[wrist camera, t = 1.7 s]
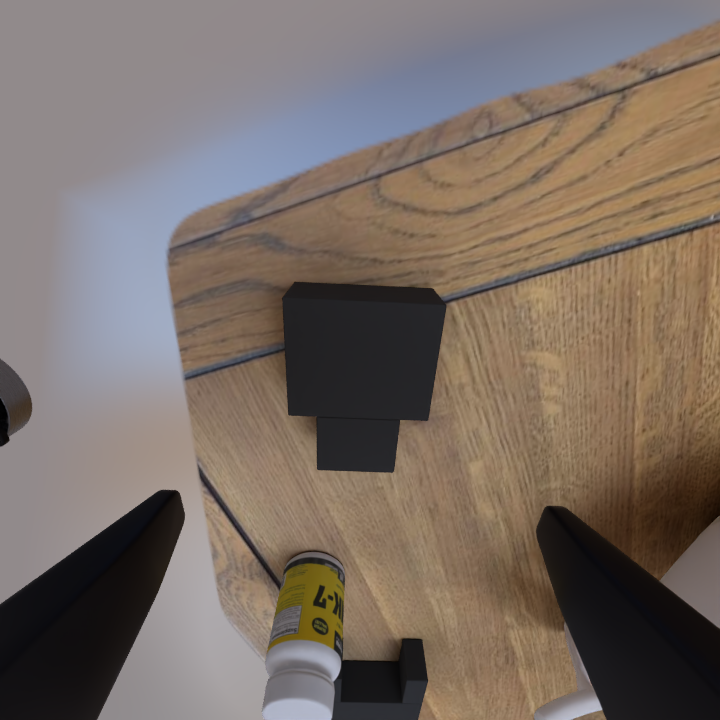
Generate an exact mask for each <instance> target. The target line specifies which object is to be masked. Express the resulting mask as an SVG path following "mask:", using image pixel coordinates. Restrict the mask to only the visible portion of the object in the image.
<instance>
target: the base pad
mask: <svg viewBox="0 0 720 720" xmlns="http://www.w3.org/2000/svg"><path fill="white" fill-rule="evenodd" d="M342 656H343V638H342ZM333 683H334V690H335V695H334V703H333V714H332V719H331V720H418V717H419V713H420V710H421V706H422V702H423V698H424V694H425V690H426V687H427V683H428V677H427V670H426V663H425V656H424V649H423V642H422V640H414V639H403V641H402V646H401V652H400V657H399V662H373V661H342V659H341V669H340V672H339V674H338V676H337V678H336V679H335V680H334V681H333Z"/></svg>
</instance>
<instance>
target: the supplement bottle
mask: <svg viewBox="0 0 720 720" xmlns="http://www.w3.org/2000/svg"><path fill="white" fill-rule="evenodd" d="M344 588H345V572H344V568H343V566H342V565H341V563H340V562H339V561H338V560H336V559H335V558H333V557H332V556H330V555H327V554H324V553H320V552H307V553H302V554H300V555H297V556H295V557H294V558H292V559H291V560H290V561H289V562H288V563H287V565H286V566H285V569H284V574H283V578H282V583H281V588H280V593H279V597H278V602H277V607H276V612H275V617H274V621H273V626H272V631H271V636H270V641H269V645H268V650H267V655H266V670H267V673H268V675H269V676H270V678H269V679H268V682H267V686H266V690H265V697H264V702H263V709H262V716H263V718H264V719H265V720H331V719H332V714H333V703H334V695H335V690H334V683H333V681H334V680H335V679H336V678H337V676H338V674H339V672H340V669H341V659H342V635H343V612H344Z"/></svg>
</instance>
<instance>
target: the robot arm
mask: <svg viewBox="0 0 720 720" xmlns="http://www.w3.org/2000/svg"><path fill="white" fill-rule="evenodd" d="M9 441H10V439H9V436H8V434H7V432H6V430H5V428H4V426H3V424H2V422H1V420H0V447H2V446H4V445H5V444H7V443H8V442H9ZM184 520H185V512H184V508H183V504H182V500H181V496H180V493H179V492H178V491H176V490H160V491H158V492H156V493H155V494H154V495H152V496H151V497H149V498H148V499H147V500H145V501H144V502H142V503H141V504H140V505H138V506H137V507H135V508H134V509H133V510H131V511H130V512H129V513H127V514H126V515H124V516H123V517H122V518H120V519H119V520H117V521H116V522H114V523H113V524H112V525H110V526H109V527H108V528H106V529H105V530H103V531H102V532H100V533H99V534H98V535H96V536H95V537H94V538H92V539H91V540H89V541H88V542H87V543H85V544H84V545H82V546H81V547H80V548H78V549H77V550H75V551H74V552H73V553H71V554H70V555H68V556H67V557H66V558H64V559H63V560H61V561H60V562H59V563H57V564H56V565H55V566H53V567H52V568H50V569H49V570H47V571H46V572H45V573H43V574H42V575H41V576H39V577H38V578H36V579H35V580H33V581H32V582H31V583H29V584H28V585H26V586H25V587H24V588H22V589H21V590H19V591H18V592H17V593H15V594H14V595H13V596H11V597H10V598H8V599H7V600H5V601H4V602H3V603H1V604H0V720H97V719H98V716H99V714H100V712H101V710H102V708H103V706H104V704H105V702H106V700H107V698H108V696H109V694H110V691H111V689H112V687H113V685H114V683H115V681H116V679H117V677H118V675H119V673H120V671H121V669H122V667H123V665H124V662H125V660H126V658H127V656H128V654H129V652H130V650H131V648H132V646H133V644H134V642H135V639H136V637H137V635H138V633H139V631H140V629H141V627H142V625H143V623H144V621H145V619H146V617H147V615H148V612H149V610H150V608H151V606H152V604H153V602H154V600H155V598H156V595H157V593H158V591H159V588H160V586H161V583H162V581H163V578H164V576H165V572H166V570H167V567H168V565H169V562H170V559H171V557H172V554H173V551H174V548H175V546H176V543H177V540H178V538H179V535H180V532H181V530H182V527H183V524H184ZM536 535H537V540H538V543H539V546H540V549H541V552H542V555H543V559H544V562H545V565H546V568H547V571H548V574H549V577H550V581H551V584H552V587H553V590H554V593H555V596H556V599H557V602H558V605H559V607H560V610H561V612H562V615H563V617H564V620H565V622H566V624H567V627H568V629H569V632H570V634H571V636H572V639H573V641H574V643H575V646H576V648H577V651H578V653H579V655H580V658H581V660H582V662H583V665H584V667H585V669H586V672H587V674H588V677H589V679H590V681H591V684H592V686H593V688H594V691H595V693H596V696H597V698H598V700H599V703H600V705H601V707H602V710H603V712H604V715H605V717H606V719H607V720H720V628H718V627H717V626H716V625H714V624H713V623H712V622H711V621H709V620H708V619H707V618H706V617H704V616H703V615H702V614H700V613H699V612H698V611H697V610H695V609H694V608H693V607H692V606H690V605H689V604H688V603H686V602H685V601H684V600H683V599H681V598H680V597H679V596H678V595H676V594H675V593H674V592H672V591H671V590H670V589H669V588H667V587H666V586H665V585H664V584H662V583H661V582H660V581H658V580H657V579H656V578H655V577H653V576H652V575H651V574H650V573H648V572H647V571H646V570H644V569H643V568H642V567H641V566H639V565H638V564H637V563H636V562H634V561H633V560H632V559H630V558H629V557H628V556H627V555H625V554H624V553H623V552H622V551H620V550H619V549H618V548H616V547H615V546H614V545H613V544H611V543H610V542H609V541H608V540H606V539H605V538H604V537H602V536H601V535H600V534H599V533H597V532H596V531H595V530H594V529H592V528H591V527H590V526H588V525H587V524H586V523H585V522H583V521H582V520H581V519H580V518H578V517H577V516H576V515H574V514H573V513H572V512H571V511H569V510H568V509H567V508H565V507H562V506H546V507H545V508H544V510H543V513H542V515H541V518H540V520H539V523H538V525H537V529H536Z"/></svg>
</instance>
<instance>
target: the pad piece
mask: <svg viewBox="0 0 720 720" xmlns="http://www.w3.org/2000/svg"><path fill="white" fill-rule="evenodd" d="M282 301H283V320H284V340H285V360H286V379H287V399H288V415H292V416H317V469H318V470H333V471H361V472H390V473H393V472H394V467H395V459H396V450H397V442H398V434H399V425H400V420H421V421H428V418H429V411H430V405H431V399H432V393H433V387H434V380H435V374H436V368H437V362H438V356H439V349H440V343H441V337H442V331H443V325H444V318H445V312H446V304H445V303H444V302H443V300H442V299H441V298H440V297H439V295H438V294H437V293H436V292H435V291H434V289H432V288H412V287H390V286H369V285H348V284H327V283H306V282H294V284H293V285H292V286H291V287H290V289H289V290H288V291H287V293H286V294H285V295H284V296H283V298H282Z"/></svg>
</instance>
